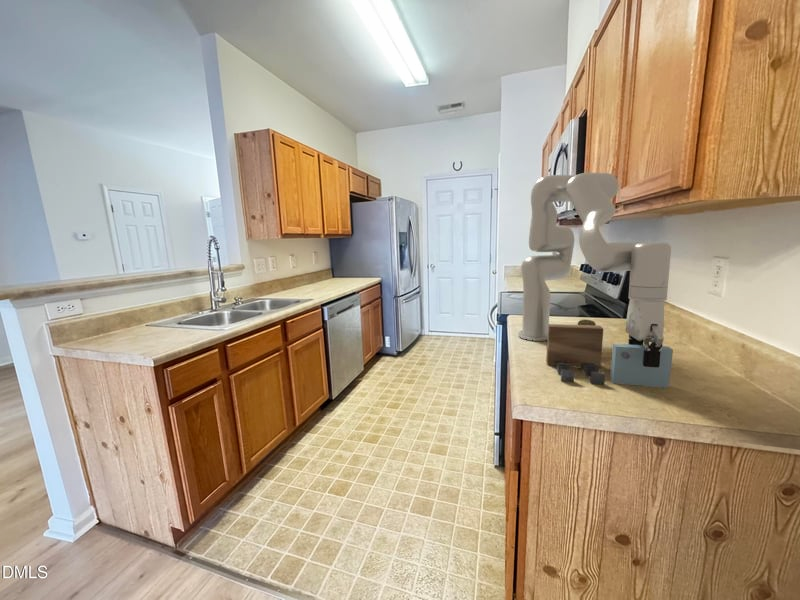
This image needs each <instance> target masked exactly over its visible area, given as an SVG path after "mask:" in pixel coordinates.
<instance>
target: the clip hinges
mask: <svg viewBox="0 0 800 600" xmlns="http://www.w3.org/2000/svg"><path fill="white" fill-rule="evenodd" d="M580 368H581V370H582V372H583V373H584V374H585V376H586V377H590V379H589V383H590V385H599V386H600V385H601V386H604V385H605V380H606V379H605V378H606V373H605V372H603V371H602V372H601V371H600V369H599V368H600V367H599V365H594V364H593V363H581V367H580ZM555 369H556V371H557V374H558V375H560V381H561V382H567V383H575V370H573V369H572V368H571V364H570V363H567V362H564V361H555Z"/></svg>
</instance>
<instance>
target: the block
mask: <svg viewBox="0 0 800 600" xmlns="http://www.w3.org/2000/svg"><path fill="white" fill-rule="evenodd" d="M661 349H662V351H661V354H660V366H659V367H644V366H643V352H644V350H646V349H645V344H643V345H630V344H627V343H626V344H625V343H624V344H623V343H612V352H611V353H612V355H611V365H610V377H609V380H610V381H611V382H612V384H619V385H631V386H640V385H641V386H643V387H653V388H666V389H669V388H670V383H671V382H670V381H671V380H670V379H671V373H672V372H671V371H672V364H673V363H672V361H673V355H674V354H673V353H674V349H673V348H671V347H670V346H668V345H667V346H665V345H663V346H662V347H661Z"/></svg>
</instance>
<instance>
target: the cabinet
mask: <svg viewBox="0 0 800 600" xmlns="http://www.w3.org/2000/svg"><path fill="white" fill-rule="evenodd" d="M603 339H604V327H602V326H601V325H596V326H593V325H578V324H562V323H561V324H560V323H559V324H558V323H549V324H548V333H547V341H546V361H545V362H546V363H547V366H555V361H564V362H567V363H570V364H571V367H572V368H581V363H593V364H594V365H599V367H600V368H599V370H601V368H602V354H603V353H602V351H603Z"/></svg>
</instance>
